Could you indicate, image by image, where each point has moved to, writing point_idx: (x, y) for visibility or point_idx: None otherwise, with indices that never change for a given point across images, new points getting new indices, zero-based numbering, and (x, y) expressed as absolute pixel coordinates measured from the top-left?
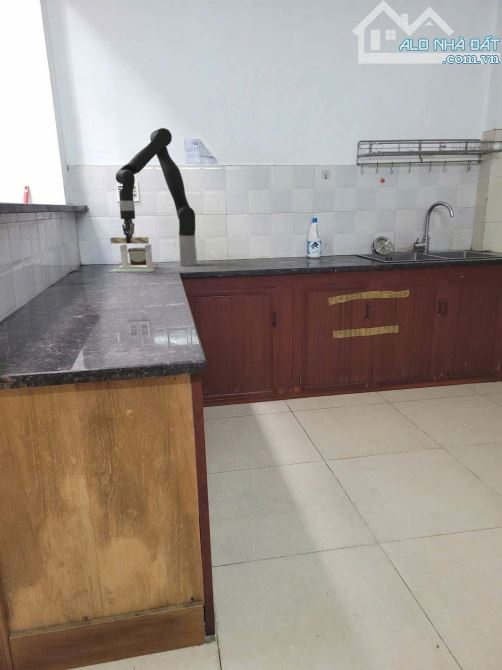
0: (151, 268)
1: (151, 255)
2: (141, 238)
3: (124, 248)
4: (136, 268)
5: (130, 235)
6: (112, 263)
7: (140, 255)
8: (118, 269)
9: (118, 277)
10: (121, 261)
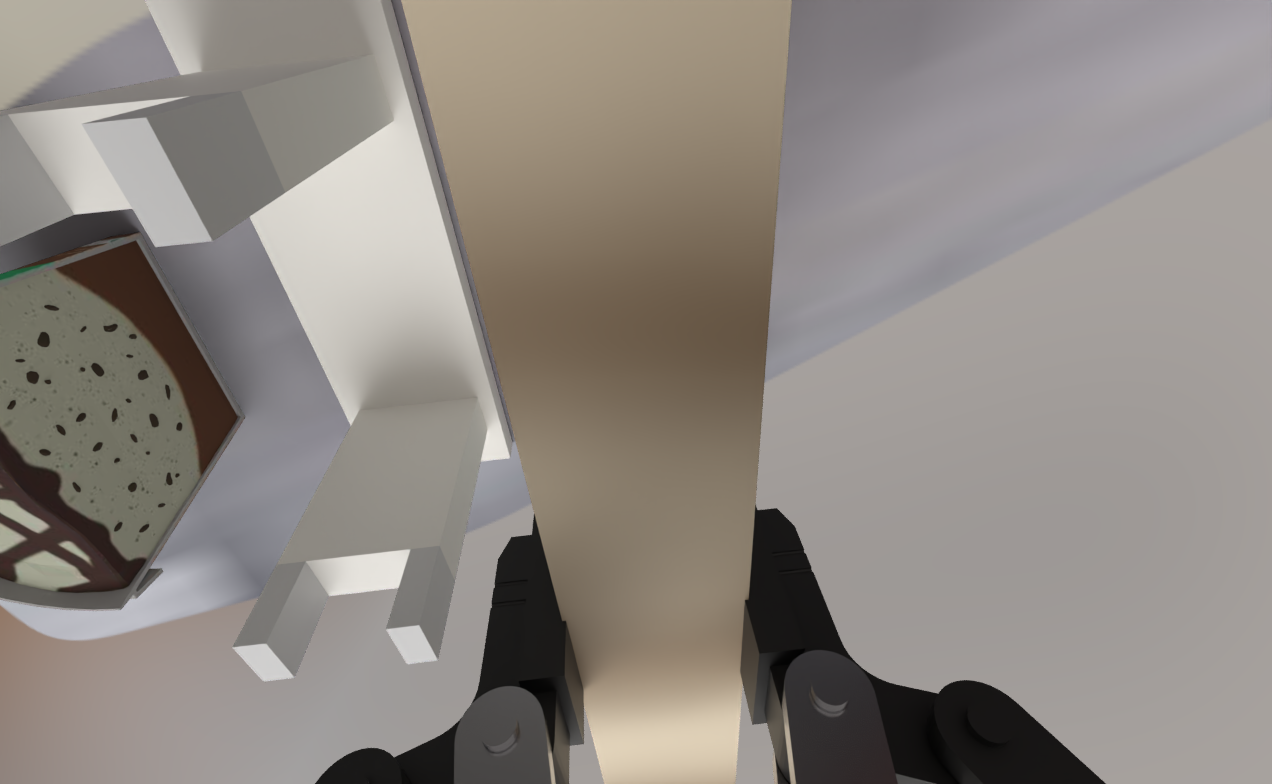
0: (391, 14)
1: (103, 93)
2: (765, 227)
3: (309, 603)
4: (459, 259)
5: (564, 711)
6: (201, 612)
7: (75, 384)
8: None
9: (1078, 216)
10: (478, 471)
